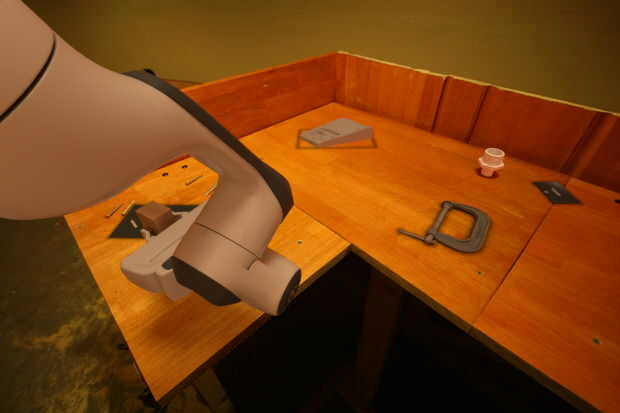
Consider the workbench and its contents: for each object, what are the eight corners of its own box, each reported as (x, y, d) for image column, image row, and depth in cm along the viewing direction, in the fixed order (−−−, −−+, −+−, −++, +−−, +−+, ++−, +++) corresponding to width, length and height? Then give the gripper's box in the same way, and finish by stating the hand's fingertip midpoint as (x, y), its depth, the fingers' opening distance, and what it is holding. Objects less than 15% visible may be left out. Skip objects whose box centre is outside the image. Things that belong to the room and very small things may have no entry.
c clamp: (469, 268, 66) (473, 259, 64) (397, 233, 75) (399, 225, 73) (496, 220, 78) (500, 212, 76) (431, 195, 87) (434, 187, 85)
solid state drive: (552, 204, 82) (553, 202, 81) (532, 183, 90) (533, 181, 89) (579, 204, 82) (580, 202, 81) (556, 183, 89) (558, 181, 89)
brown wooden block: (162, 268, 55) (141, 228, 49) (144, 258, 57) (123, 218, 51) (196, 241, 60) (181, 201, 54) (179, 232, 62) (163, 193, 56)
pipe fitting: (492, 169, 97) (501, 146, 92) (500, 181, 91) (511, 158, 86) (471, 168, 97) (479, 146, 92) (478, 181, 92) (487, 157, 87)
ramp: (297, 149, 110) (297, 136, 107) (299, 131, 122) (299, 118, 119) (375, 148, 109) (377, 135, 106) (369, 130, 121) (370, 117, 118)
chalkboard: (109, 239, 76) (108, 237, 75) (135, 206, 86) (134, 204, 85) (196, 240, 75) (195, 237, 74) (211, 207, 85) (210, 204, 84)
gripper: (249, 201, 54) (195, 180, 60) (150, 283, 40) (93, 246, 46) (254, 227, 58) (203, 205, 64) (165, 310, 44) (111, 272, 50)
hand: (156, 223), depth 55 cm, fingers closed on brown wooden block, 3 cm apart
